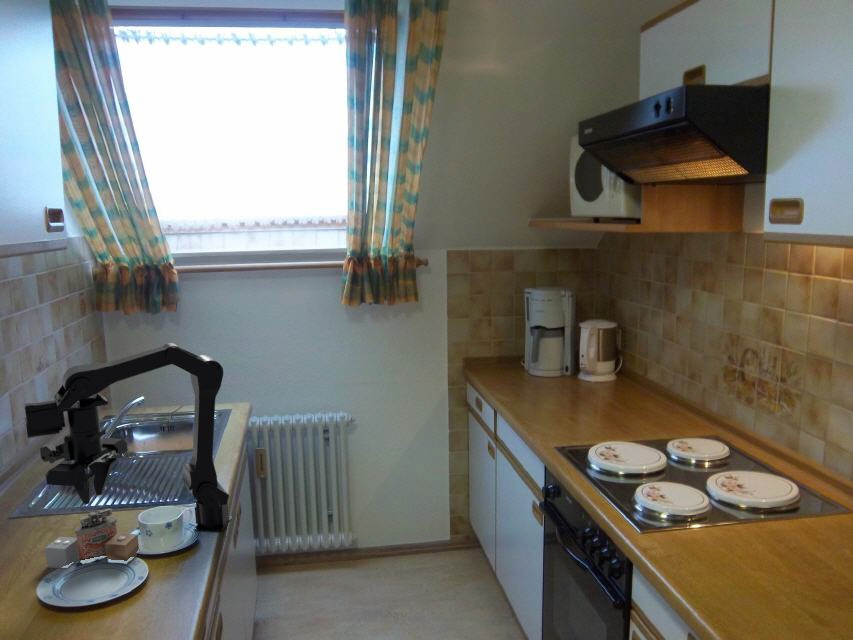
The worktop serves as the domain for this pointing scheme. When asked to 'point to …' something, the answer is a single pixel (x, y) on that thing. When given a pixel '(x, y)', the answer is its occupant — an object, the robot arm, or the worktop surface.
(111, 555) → the walnut block
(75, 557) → the grey block
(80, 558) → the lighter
